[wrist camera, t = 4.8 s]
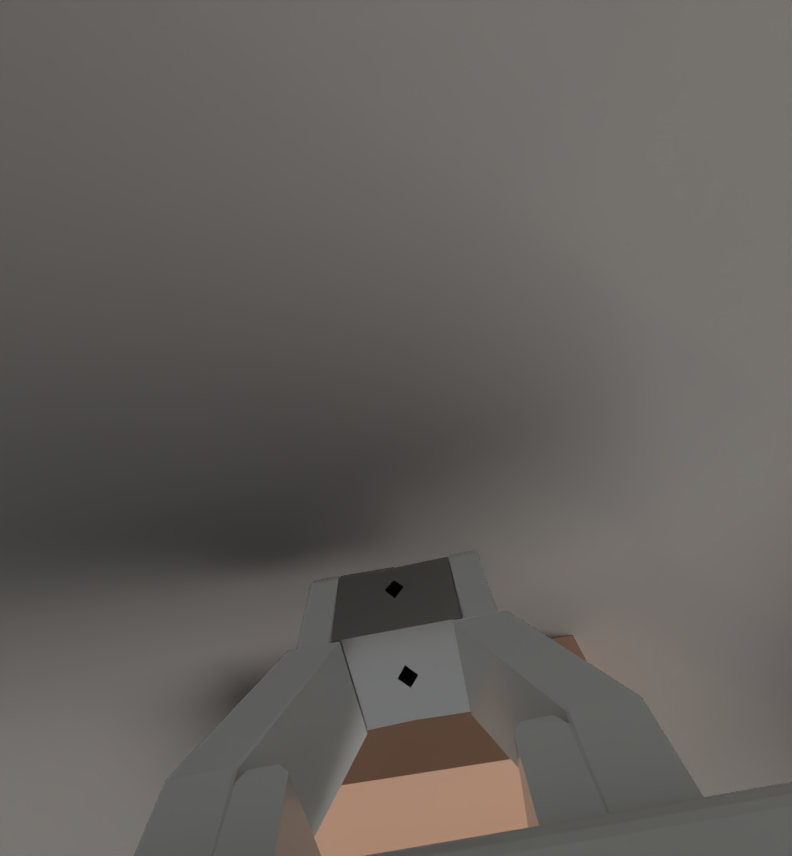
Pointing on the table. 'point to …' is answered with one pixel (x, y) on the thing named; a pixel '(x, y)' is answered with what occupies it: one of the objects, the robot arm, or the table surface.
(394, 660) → the robot arm
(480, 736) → the tan rectangular block
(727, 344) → the table surface
